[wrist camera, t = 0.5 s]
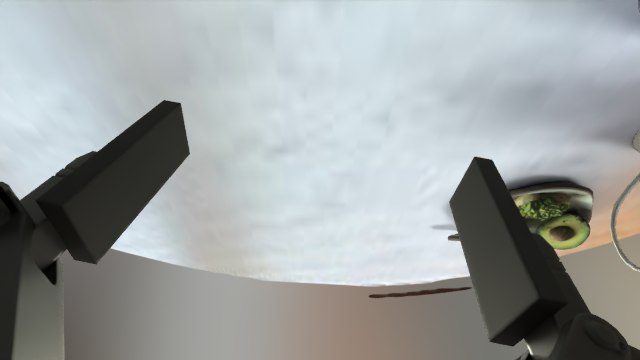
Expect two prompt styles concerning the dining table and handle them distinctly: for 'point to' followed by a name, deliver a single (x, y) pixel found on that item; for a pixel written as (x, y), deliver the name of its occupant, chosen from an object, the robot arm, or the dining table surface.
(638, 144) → the white black mug
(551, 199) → the salad plate
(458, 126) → the dining table surface
